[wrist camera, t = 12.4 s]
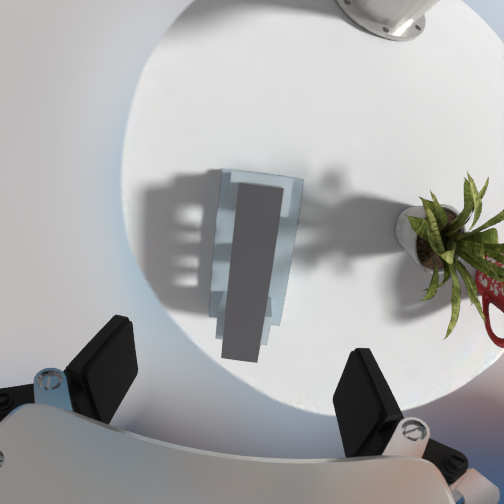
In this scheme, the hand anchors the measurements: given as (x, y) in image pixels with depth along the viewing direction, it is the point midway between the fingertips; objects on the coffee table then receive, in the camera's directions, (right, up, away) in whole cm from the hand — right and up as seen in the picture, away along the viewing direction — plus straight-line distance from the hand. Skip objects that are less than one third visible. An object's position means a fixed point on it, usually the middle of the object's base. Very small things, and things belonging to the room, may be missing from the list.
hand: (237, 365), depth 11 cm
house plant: (+20, +8, +17) cm, 28 cm away
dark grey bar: (+1, +3, +13) cm, 14 cm away
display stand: (+1, +5, +19) cm, 20 cm away
